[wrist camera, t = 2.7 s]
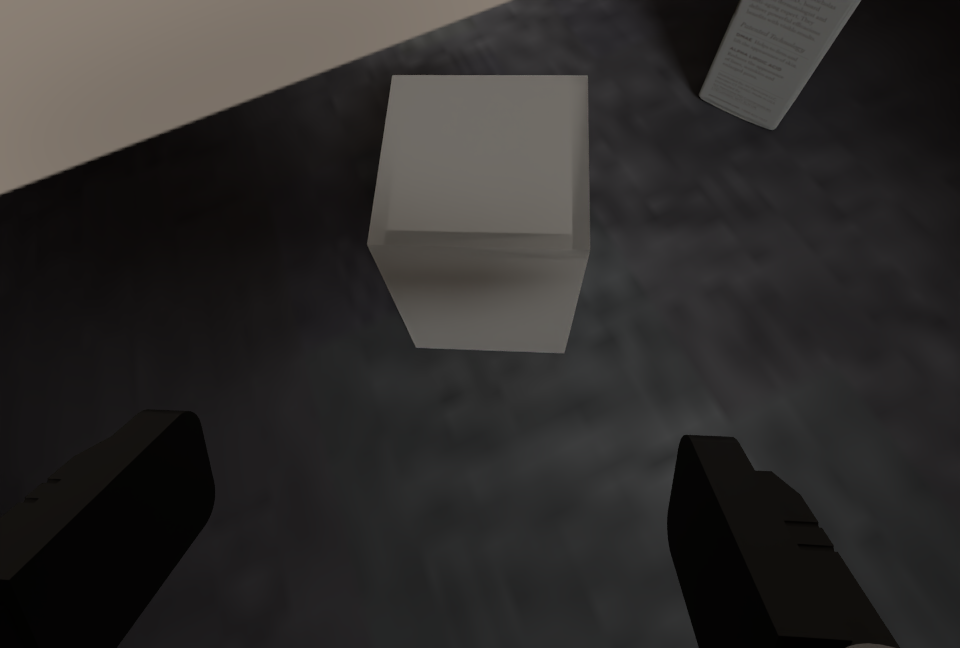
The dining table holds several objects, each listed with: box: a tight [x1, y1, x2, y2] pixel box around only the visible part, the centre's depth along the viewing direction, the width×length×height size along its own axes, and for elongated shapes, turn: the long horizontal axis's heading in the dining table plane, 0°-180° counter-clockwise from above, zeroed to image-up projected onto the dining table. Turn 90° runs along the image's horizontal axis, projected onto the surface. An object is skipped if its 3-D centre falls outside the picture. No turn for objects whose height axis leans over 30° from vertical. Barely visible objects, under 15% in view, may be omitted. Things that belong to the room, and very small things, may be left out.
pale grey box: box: [367, 75, 590, 353], centre depth 22 cm, size 6×6×9 cm
